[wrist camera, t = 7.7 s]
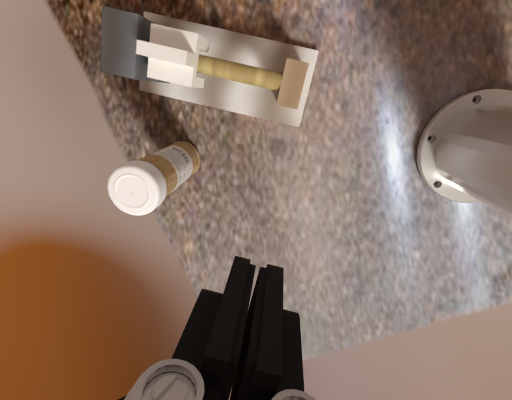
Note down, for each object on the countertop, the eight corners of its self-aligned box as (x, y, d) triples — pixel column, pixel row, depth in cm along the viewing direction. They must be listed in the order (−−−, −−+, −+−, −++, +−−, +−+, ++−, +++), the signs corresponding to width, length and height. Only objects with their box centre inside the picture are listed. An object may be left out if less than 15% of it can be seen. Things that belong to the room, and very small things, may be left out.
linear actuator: (318, 51, 31) (330, 35, 22) (298, 126, 34) (303, 136, 25) (147, 13, 31) (96, -18, 23) (142, 90, 34) (95, 88, 26)
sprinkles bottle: (160, 150, 36) (94, 179, 24) (189, 134, 35) (137, 155, 23) (179, 181, 38) (126, 225, 25) (208, 166, 36) (168, 204, 24)
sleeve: (209, 42, 27) (189, 27, 22) (203, 88, 29) (183, 86, 23) (169, 32, 27) (138, 16, 22) (164, 79, 29) (134, 75, 23)
